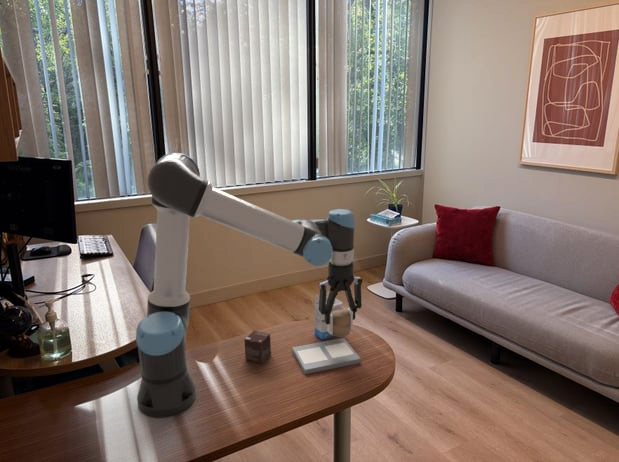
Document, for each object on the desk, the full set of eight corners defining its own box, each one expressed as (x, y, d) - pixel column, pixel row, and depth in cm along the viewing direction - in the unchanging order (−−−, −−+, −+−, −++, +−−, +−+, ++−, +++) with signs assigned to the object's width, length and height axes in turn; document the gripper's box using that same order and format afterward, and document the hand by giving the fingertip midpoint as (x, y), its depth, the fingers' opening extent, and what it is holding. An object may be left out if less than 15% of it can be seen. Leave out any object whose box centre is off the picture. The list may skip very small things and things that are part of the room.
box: (271, 354, 147) (270, 334, 144) (261, 364, 141) (261, 343, 139) (255, 350, 149) (254, 329, 147) (244, 359, 144) (243, 338, 142)
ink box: (322, 340, 154) (322, 300, 150) (314, 334, 158) (314, 295, 154) (342, 333, 159) (343, 294, 155) (334, 327, 163) (334, 289, 159)
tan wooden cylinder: (327, 329, 146) (327, 311, 144) (345, 325, 148) (345, 308, 146) (334, 338, 140) (334, 320, 139) (352, 334, 142) (353, 317, 140)
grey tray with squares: (305, 374, 136) (305, 369, 136) (292, 351, 148) (292, 347, 148) (360, 362, 142) (360, 358, 142) (343, 341, 154) (344, 337, 153)
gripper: (315, 270, 131) (315, 342, 138) (375, 261, 137) (372, 331, 144) (306, 261, 138) (307, 330, 144) (364, 253, 143) (362, 320, 150)
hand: (339, 330), depth 144 cm, fingers closed on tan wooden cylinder, 6 cm apart
